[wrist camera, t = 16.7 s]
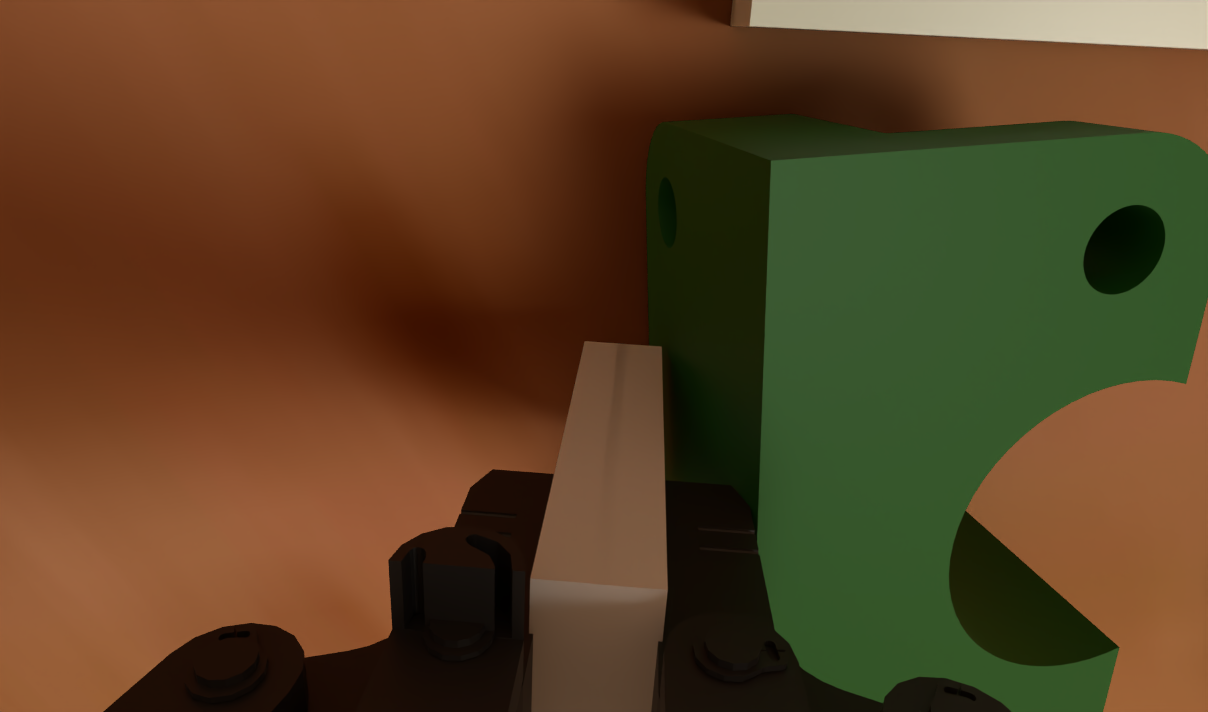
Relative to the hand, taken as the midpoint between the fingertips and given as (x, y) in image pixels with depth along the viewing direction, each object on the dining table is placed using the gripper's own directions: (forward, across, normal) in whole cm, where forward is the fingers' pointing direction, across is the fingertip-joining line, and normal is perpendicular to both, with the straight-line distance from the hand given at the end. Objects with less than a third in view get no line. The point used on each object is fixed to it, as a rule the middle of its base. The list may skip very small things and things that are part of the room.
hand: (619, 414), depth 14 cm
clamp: (+2, +4, 0) cm, 5 cm away
